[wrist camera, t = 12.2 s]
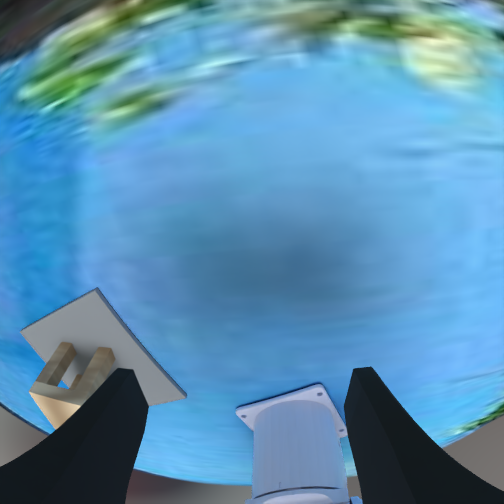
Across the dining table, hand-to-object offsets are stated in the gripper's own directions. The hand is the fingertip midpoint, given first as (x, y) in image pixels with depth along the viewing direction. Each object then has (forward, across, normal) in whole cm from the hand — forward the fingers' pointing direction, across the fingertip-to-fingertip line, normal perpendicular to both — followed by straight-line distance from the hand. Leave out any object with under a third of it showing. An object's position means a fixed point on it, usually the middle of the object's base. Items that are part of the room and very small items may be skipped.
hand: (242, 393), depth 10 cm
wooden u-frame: (+10, +14, +10) cm, 20 cm away
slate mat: (+10, +14, +10) cm, 20 cm away
